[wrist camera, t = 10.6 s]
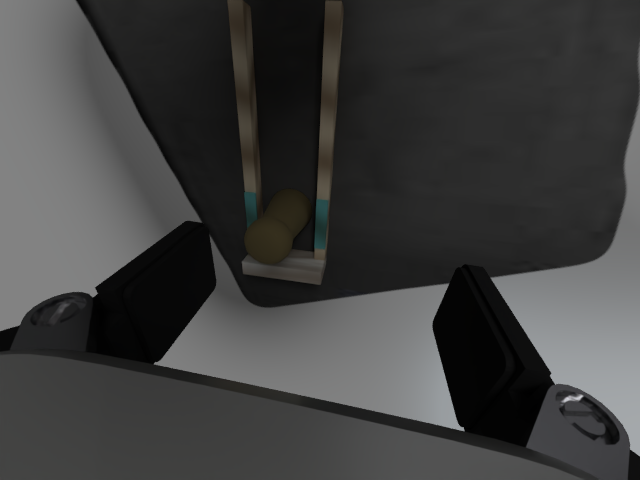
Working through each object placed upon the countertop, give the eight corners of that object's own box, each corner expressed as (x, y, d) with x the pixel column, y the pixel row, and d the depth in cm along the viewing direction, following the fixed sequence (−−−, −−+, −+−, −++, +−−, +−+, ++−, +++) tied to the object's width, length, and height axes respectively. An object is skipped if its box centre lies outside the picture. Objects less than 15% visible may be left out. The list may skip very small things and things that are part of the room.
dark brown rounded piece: (271, 227, 38) (238, 269, 29) (268, 186, 35) (231, 219, 26) (312, 231, 38) (292, 276, 28) (312, 190, 35) (290, 224, 25)
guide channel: (236, 6, 27) (210, -12, 22) (343, 7, 26) (338, -12, 21) (256, 255, 41) (243, 273, 37) (325, 264, 40) (320, 284, 35)
